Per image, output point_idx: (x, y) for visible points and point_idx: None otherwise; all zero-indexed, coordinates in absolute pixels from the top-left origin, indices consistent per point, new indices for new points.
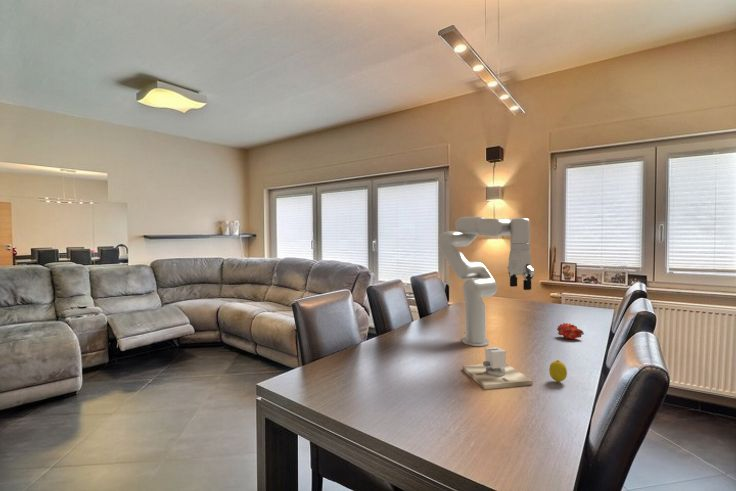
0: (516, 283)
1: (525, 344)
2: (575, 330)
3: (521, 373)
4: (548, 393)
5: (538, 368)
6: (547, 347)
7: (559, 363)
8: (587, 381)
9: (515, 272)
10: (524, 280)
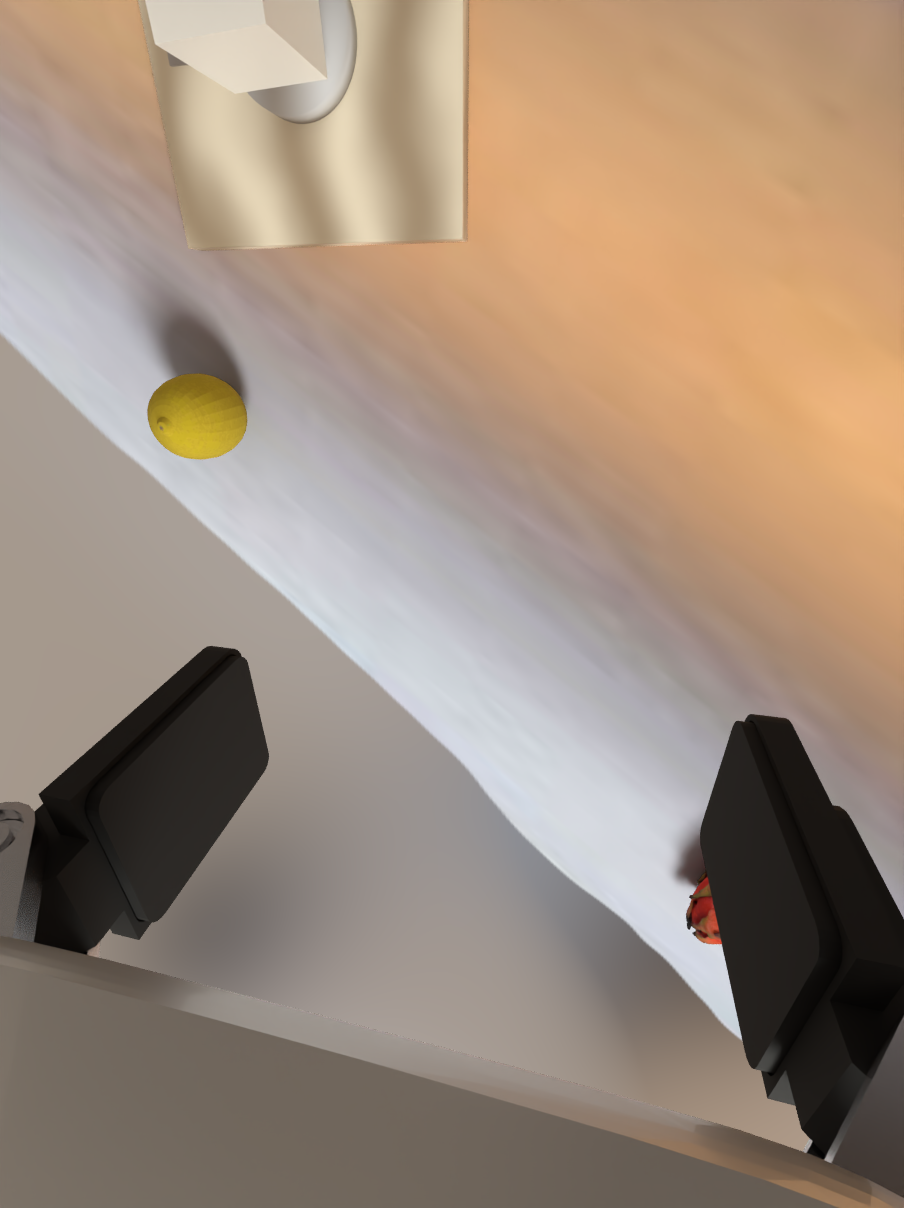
0: (716, 879)
1: (775, 634)
2: (707, 919)
3: (281, 245)
4: (117, 270)
5: (400, 437)
6: (669, 699)
7: (150, 419)
8: (245, 539)
9: (114, 1107)
10: (45, 795)
